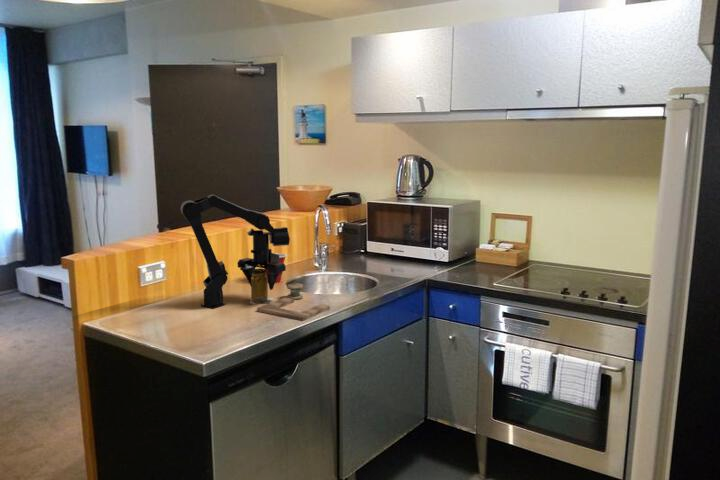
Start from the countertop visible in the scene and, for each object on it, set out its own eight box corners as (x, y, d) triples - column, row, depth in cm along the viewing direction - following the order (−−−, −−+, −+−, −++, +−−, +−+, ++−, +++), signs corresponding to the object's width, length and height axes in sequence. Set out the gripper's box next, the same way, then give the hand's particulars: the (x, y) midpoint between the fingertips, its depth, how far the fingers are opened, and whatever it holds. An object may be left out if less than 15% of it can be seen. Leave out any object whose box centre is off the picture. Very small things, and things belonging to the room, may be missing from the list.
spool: (296, 301, 218) (296, 288, 217) (284, 298, 221) (283, 285, 220) (306, 297, 223) (306, 284, 223) (293, 295, 226) (293, 282, 226)
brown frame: (303, 320, 195) (303, 317, 195) (257, 311, 205) (257, 307, 205) (329, 309, 209) (329, 305, 209) (285, 300, 219) (285, 297, 218)
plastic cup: (292, 280, 249) (291, 253, 247) (276, 285, 240) (275, 257, 238) (272, 277, 255) (271, 250, 253) (255, 282, 246) (255, 254, 243)
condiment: (251, 298, 221) (250, 267, 219) (273, 298, 222) (273, 267, 220) (249, 304, 214) (249, 272, 212) (272, 303, 215) (272, 272, 213)
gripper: (294, 246, 216) (294, 286, 219) (255, 241, 226) (256, 280, 228) (275, 250, 207) (276, 293, 210) (236, 245, 216) (237, 286, 219)
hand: (261, 287), depth 217 cm, fingers open, 9 cm apart
